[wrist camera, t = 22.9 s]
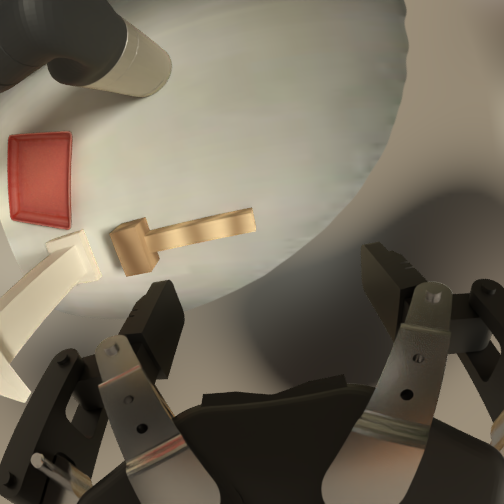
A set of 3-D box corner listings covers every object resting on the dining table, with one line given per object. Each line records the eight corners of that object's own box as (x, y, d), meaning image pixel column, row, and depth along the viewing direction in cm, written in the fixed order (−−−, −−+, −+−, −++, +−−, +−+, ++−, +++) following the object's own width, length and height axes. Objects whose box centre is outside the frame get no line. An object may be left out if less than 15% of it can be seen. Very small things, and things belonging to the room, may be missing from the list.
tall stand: (89, 222, 46) (-32, 324, 17) (111, 278, 51) (25, 402, 22) (43, 237, 47) (-61, 324, 18) (64, 287, 52) (-18, 388, 23)
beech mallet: (248, 192, 44) (248, 200, 40) (258, 238, 47) (259, 251, 43) (121, 223, 46) (109, 233, 42) (136, 263, 50) (126, 276, 45)
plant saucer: (81, 129, 39) (71, 130, 36) (79, 224, 47) (70, 231, 44) (18, 133, 38) (7, 135, 35) (19, 215, 45) (10, 220, 42)
